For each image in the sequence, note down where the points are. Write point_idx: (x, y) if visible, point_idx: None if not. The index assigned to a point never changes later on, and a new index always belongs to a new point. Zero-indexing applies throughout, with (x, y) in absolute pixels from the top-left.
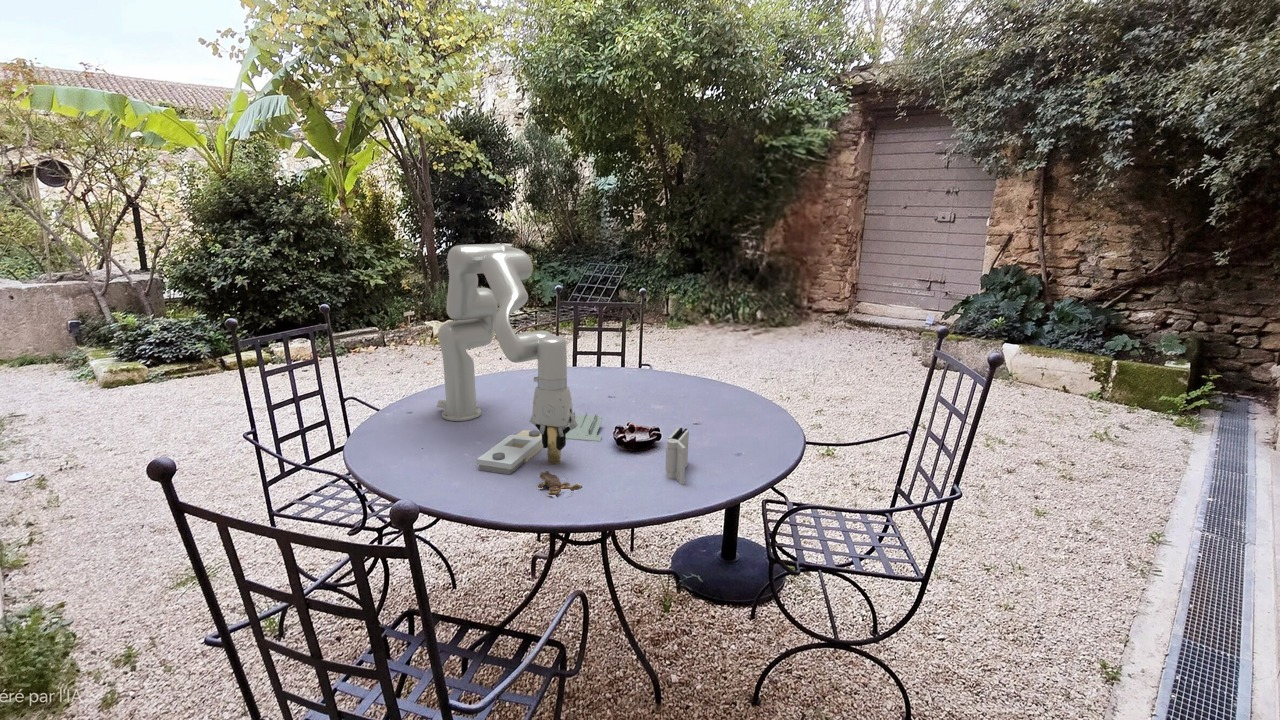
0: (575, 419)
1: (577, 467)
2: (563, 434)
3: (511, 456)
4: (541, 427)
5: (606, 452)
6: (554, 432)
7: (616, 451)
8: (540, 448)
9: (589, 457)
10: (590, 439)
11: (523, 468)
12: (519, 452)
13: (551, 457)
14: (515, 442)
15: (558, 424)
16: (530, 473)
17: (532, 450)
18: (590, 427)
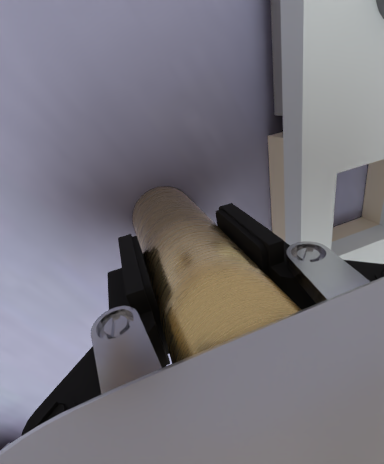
0: None
1: (17, 233)
2: (93, 338)
3: (348, 38)
4: (348, 277)
5: (40, 399)
6: (190, 304)
7: (13, 427)
8: None
9: (61, 334)
10: None
11: (245, 68)
12: (328, 119)
13: (162, 198)
14: (376, 228)
15: (96, 446)
16: (178, 25)
17: (288, 210)
18: None
